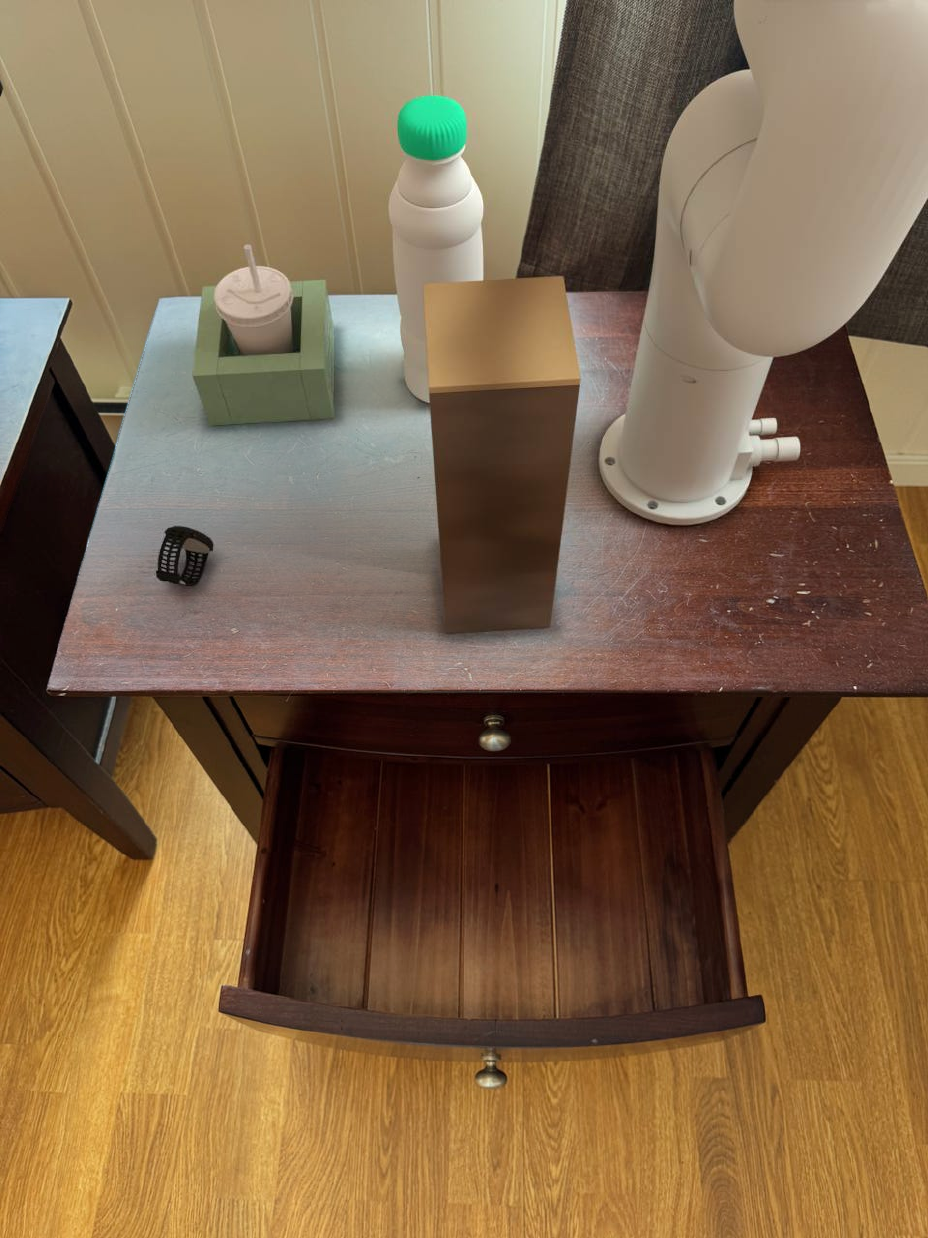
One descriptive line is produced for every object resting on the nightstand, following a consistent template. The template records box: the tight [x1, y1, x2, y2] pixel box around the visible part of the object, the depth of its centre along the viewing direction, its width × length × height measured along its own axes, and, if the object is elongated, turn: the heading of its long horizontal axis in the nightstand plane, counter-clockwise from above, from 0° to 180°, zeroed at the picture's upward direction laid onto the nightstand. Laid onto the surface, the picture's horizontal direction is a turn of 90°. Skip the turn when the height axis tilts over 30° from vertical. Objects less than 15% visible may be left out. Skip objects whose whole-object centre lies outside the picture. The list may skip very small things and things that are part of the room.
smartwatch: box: [155, 525, 215, 588], centre depth 73 cm, size 4×5×5 cm
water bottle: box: [387, 94, 484, 404], centre depth 75 cm, size 7×7×25 cm
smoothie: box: [214, 244, 294, 356], centre depth 80 cm, size 6×6×14 cm
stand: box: [192, 279, 335, 427], centre depth 83 cm, size 11×11×6 cm
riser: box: [423, 275, 582, 634], centre depth 63 cm, size 8×8×26 cm
